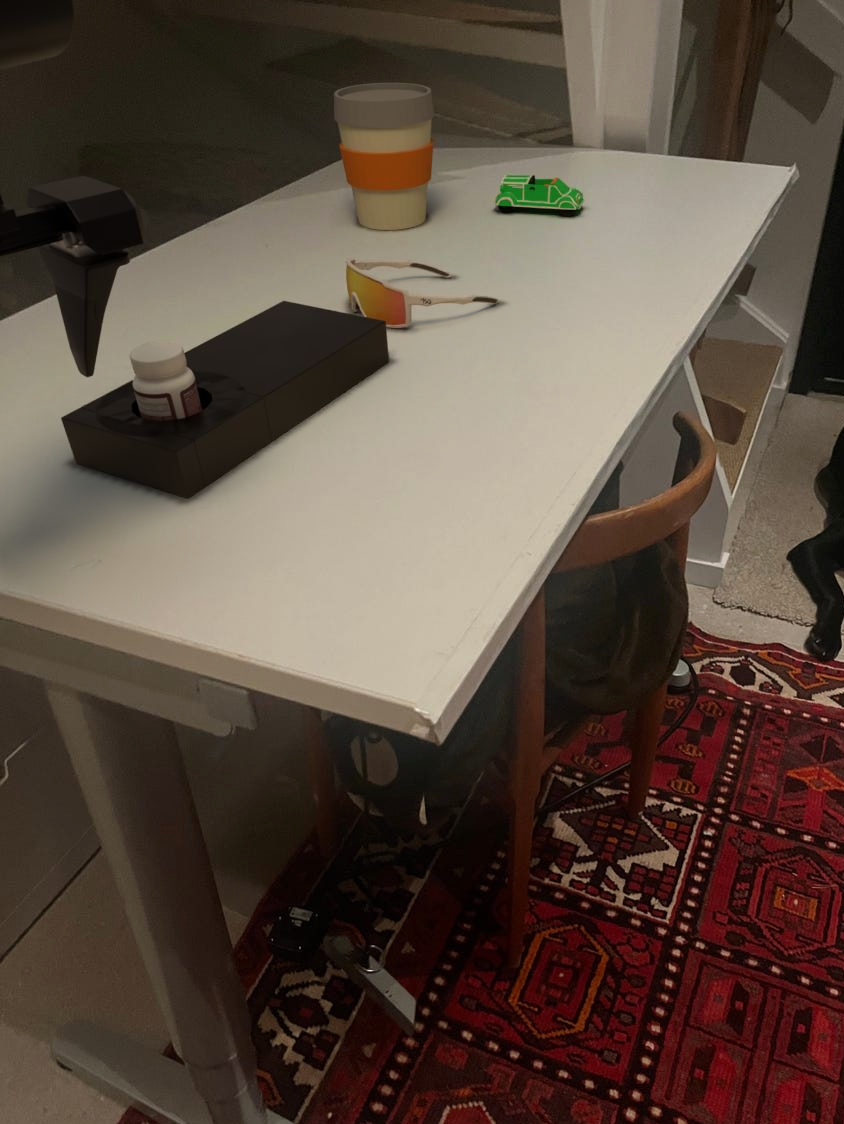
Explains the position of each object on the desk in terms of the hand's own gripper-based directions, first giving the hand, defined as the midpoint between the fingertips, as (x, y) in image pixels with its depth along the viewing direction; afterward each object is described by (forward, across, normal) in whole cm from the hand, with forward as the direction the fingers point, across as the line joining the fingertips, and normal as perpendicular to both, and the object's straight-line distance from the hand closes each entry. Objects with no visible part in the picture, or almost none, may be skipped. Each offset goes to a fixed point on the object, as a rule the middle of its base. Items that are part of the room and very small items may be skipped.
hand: (13, 400), depth 54 cm
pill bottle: (+13, -15, -11) cm, 23 cm away
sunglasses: (+13, -50, -20) cm, 55 cm away
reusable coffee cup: (+14, -69, -45) cm, 83 cm away
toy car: (+14, -85, -33) cm, 92 cm away
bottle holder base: (+13, -23, -13) cm, 29 cm away
